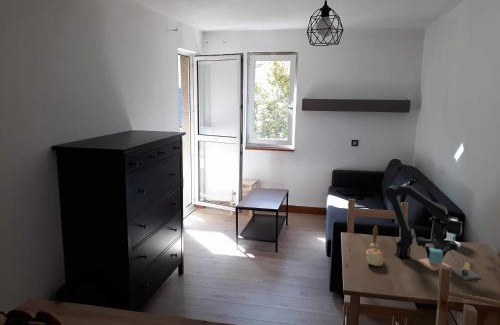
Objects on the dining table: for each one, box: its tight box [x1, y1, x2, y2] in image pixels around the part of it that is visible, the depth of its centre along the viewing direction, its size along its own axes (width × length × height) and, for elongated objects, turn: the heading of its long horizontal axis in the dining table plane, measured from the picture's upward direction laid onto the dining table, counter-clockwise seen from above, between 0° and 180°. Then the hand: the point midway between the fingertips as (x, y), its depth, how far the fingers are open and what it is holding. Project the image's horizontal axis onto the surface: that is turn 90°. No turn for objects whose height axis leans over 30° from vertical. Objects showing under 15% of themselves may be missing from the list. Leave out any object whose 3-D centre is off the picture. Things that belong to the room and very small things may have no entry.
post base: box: [450, 261, 481, 281], centre depth 187 cm, size 9×9×6 cm
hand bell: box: [365, 225, 380, 255], centre depth 208 cm, size 8×8×16 cm
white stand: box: [444, 216, 462, 248], centre depth 225 cm, size 12×11×15 cm
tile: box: [417, 257, 452, 271], centre depth 198 cm, size 11×11×1 cm
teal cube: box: [428, 247, 444, 263], centre depth 197 cm, size 6×6×5 cm
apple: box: [365, 248, 386, 267], centre depth 195 cm, size 9×9×8 cm
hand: (434, 259), depth 198 cm, fingers closed on teal cube, 6 cm apart
